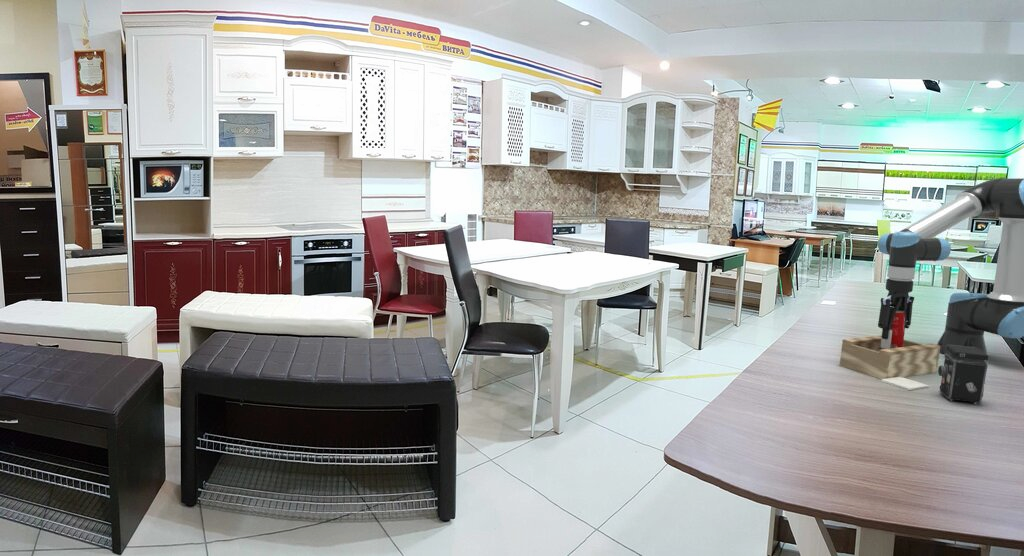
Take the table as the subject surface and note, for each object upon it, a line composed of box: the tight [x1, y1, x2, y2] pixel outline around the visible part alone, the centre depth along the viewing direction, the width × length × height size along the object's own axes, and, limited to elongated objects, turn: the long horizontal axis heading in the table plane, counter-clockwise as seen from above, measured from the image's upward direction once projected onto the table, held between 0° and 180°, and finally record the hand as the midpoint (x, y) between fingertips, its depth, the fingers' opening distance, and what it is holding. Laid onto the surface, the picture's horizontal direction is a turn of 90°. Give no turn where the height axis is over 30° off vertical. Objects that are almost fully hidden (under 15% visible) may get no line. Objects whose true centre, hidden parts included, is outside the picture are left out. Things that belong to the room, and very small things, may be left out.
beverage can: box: [883, 310, 905, 349], centre depth 201 cm, size 6×6×15 cm
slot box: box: [839, 334, 941, 380], centre depth 202 cm, size 26×16×9 cm, turn 114°
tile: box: [880, 377, 930, 391], centre depth 187 cm, size 9×9×1 cm
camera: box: [937, 345, 989, 405], centre depth 175 cm, size 10×10×15 cm
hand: (891, 347), depth 202 cm, fingers closed on beverage can, 6 cm apart
